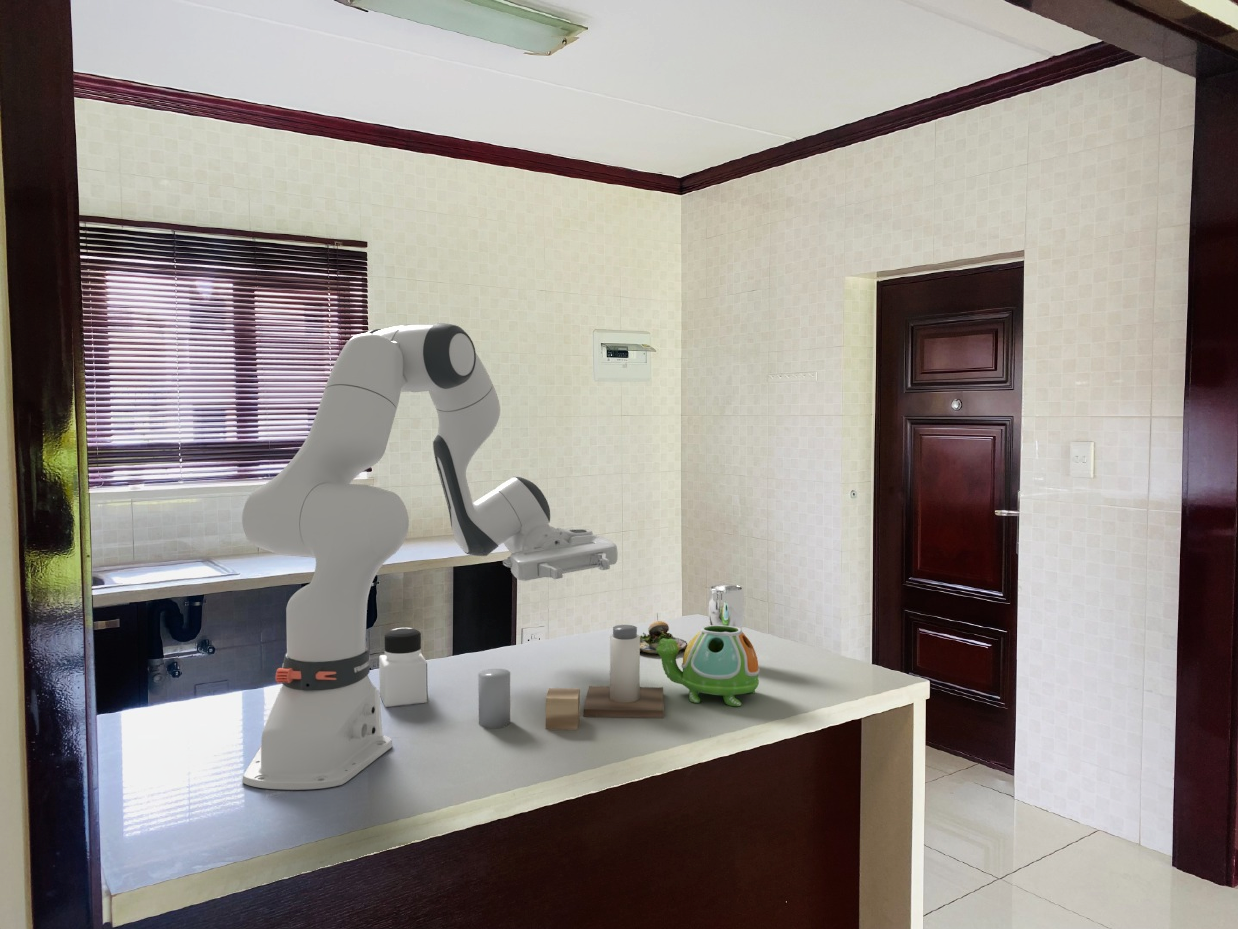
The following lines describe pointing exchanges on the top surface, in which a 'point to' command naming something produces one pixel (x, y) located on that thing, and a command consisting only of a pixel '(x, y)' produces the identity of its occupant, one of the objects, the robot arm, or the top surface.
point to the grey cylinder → (494, 698)
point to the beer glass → (726, 605)
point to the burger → (658, 637)
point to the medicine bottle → (403, 669)
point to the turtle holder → (713, 663)
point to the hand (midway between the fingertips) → (582, 570)
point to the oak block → (562, 708)
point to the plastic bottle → (624, 664)
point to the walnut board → (605, 707)
